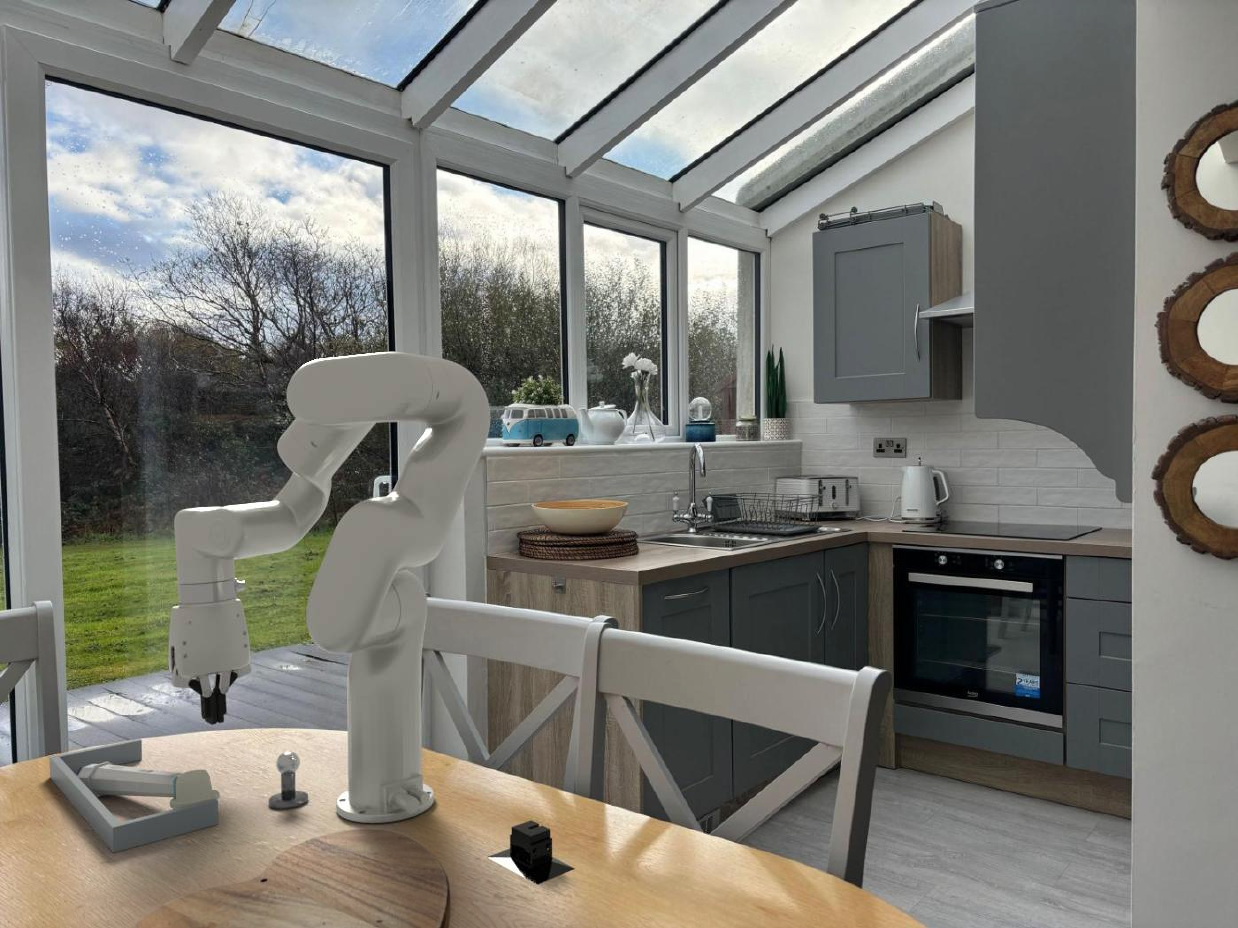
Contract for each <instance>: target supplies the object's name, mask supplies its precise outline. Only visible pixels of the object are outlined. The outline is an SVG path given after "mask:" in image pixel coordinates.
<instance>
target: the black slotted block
mask: <svg viewBox="0 0 1238 928" xmlns="http://www.w3.org/2000/svg"><path fill="white" fill-rule="evenodd" d="M487 858H488V859H489V860H492V861H493V862H495V863H497V864H499V865H500V866H502V867H504V868H506V869H508V870H509V871H512V872H513V873H515V874H517V875H519V876H521V877H522V878H524V879H526V880H528V881H530V882H531V883H533V884H535V885H541V884H543V883H545V882H547V881H550V880H552V879H554V878H557V877H559V876H562V875H564V874H567V873H569V872H571V871H573V870H575V869H576V868H575V867H573V866H571V865H569V864H567V863H565V862H563V861H561V860H559V859H558V858H555V857H553V837H551V829H550V828H548V827H546V826H544V825H540V824H539V823H538V822H536V821H534V820H531V819H530V820H528V821H524V822H522V823H519V824H517V825H514V826H511V833H510V834H509V848H508V849H505V850H502V851H500V852H499V851H498V852H497V853H494V854H492V855H488V856H487Z"/></svg>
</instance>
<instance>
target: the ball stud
mask: <svg viewBox="0 0 1238 928" xmlns="http://www.w3.org/2000/svg"><path fill="white" fill-rule="evenodd" d="M300 765H301V761H300V757H299V755H298V754H297V753H296V752H294V751H290V750H289V751H285V752H282V753H281V754H280V755H279V756H278V757H277V759H276V762H275V766H276V769H277V771H278V772H279V773H280V786H281V789H280V790H281V791H280V792H279V793H276V794H274V795H272V796H270V797H269V798H268V807H269V808H270V809H274V810H292V809H296V808H300V807H301V806H304V805H306V804H307V803H308V801H309V794H308V792H305V791H301V790H296V771H297V770H298V769H299V767H300Z"/></svg>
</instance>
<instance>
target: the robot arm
mask: <svg viewBox="0 0 1238 928" xmlns="http://www.w3.org/2000/svg"><path fill="white" fill-rule="evenodd" d="M286 402H287V406H288V408H289V410H290V413H291V414H292V416H293V417H294V420H293V421H292V422H291V423H290V425H289V426H288V427H287V428H286V430H285V431H284V432H283V433H282V434H281V436H280V438H279V439H278V441H277V453H278V456H279V457H280V459H281V460H282V462H283V463H284V464H285V466H286V467H287V468H288V469H289V470H290V471H292V474H291V477H290V478H289V480H288V481H287V483H286V484H285V485H284V486H283V487H282V489H281V490H280V491H279V492H278V493H277V495H276V496H275V497H274V498H273V499H272V500H271V501H264V502H263V501H262V502H251V503H249V502H248V503H243V504H231V505H224V506H206V507H205V506H204V507H203V506H202V507H192V508H191V507H189V508H185V509H181V510H178V512H176V514H175V516H174V522H173V524H174V525H173V526H174V540H175V541H174V545H175V559H176V560H175V561H176V576H177V577H176V578H177V594H178V596H177V597H178V605H175V606H172V608H171V614H170V621H169V632H168V633H169V634H168V669H169V671H170V673H171V675H172V676H171V679H170V680H171V681H170V686H172V687H174V688H180V689H181V688H182V689H191V690H192V691H194V692H195V693H197V694H198V695H199V697H200V715H201V718H202V719H203V720H204V721H205V722H206V723H207V724H209V725H216V724H217V723H218V724H222V723H224V722H225V716H224V715H227V713H228V711H227V709H228V708H227V693H229V691H230V688H231V687H232V686H233V684H234V682H235V681H236V680H237V679H240V678H242V677H245V676H246V675H249V674H250V673H251V672H252V667H251V665H250V661H251V646H250V645H251V644H250V643H251V642H250V638H249V637H250V635H249V631H248V630H249V629H248V624H247V619H246V616H245V611H244V607H243V603H242V600H241V599H239V598H237V597H238V593H239V592H241V591H245V590H246V582H245V580H242V581H239V580H237V578H236V571H235V560H244V559H250V558H255V557H258V556H266V555H270V554H276V553H277V554H278V553H282V552H285V551H287V550H289V549H291V548H292V547H294V546H295V545H297V544H298V543H299V542H300V541H301V540H302V539H303V538H304V537H305V536H306V535H307V533H309V531H310V530H311V529H312V528H313V527H314V525H315V524H316V523H317V522H318V521H319V519H320V518H321V516H322V515H323V513H324V511H325V510H326V508H327V505H328V503H329V499H330V495H331V490H332V477H333V476H334V475H335V473H337V471H338V470H339V469H340V467H341V466H342V465H343V464H344V463H345V461H346V460H347V458H349V456H350V455H351V454H352V452H353V451H354V450H355V449H356V448H357V447H358V445H359V444H360V443H361V442H362V440H363V439H364V438H365V437H366V436H367V434H368V433H369V432H370V431H371V430H372V428H374V426H375V425H376V423H418V424H419V423H420V424H423V423H424V424H426V429H425V431H424V433H423V434H422V436H421V437H420V438H419V440H418V441H417V442H416V443H415V445H414V446H413V447H412V449H411V450H410V452H409V454H408V455H407V457H406V459H405V461H404V464H403V467H402V469H401V471H400V475H399V476H398V479H397V481H396V484H395V486H394V488H393V489H392V490H391V492H390V493H389V494H388V495H386V496H377V497H371V498H367V499H364V500H362V501H360V502H358V503H356V504H355V505H353V506H352V507H350V508H349V510H348V511H346V513H344V515H343V516H342V517H341V519H340V520H339V522H338V523H337V526H336V527H335V529H334V532H333V534H332V536H331V539H330V542H329V544H328V546H327V548H326V551H325V554H324V557H323V559H322V562H321V564H320V567H319V569H318V572H317V575H316V576H315V580H314V582H313V584H312V586H311V590H310V592H309V596H308V599H307V604H306V610H305V622H306V627H307V630H308V631H307V632H308V634H309V636H310V638H311V640H312V641H313V642H314V643H315V645H316V646H318V647H319V648H320V650H323V651H325V652H327V653H331V654H335V655H346V654H350V657H349V660H348V661H349V662H348V665H347V666H348V668H347V676H346V677H347V679H346V683H347V686H346V687H347V688H346V689H347V690H346V693H347V694H346V696H347V697H346V698H347V699H346V700H347V701H346V703H347V705H346V708H347V714H346V716H347V781H348V782H347V784H348V786H347V790H345V791H344V792H343V793H341V794H340V795H339V797H337V799H336V801H335V810H336V813H337V814H338V815H339V816H340V817H341V818H343V819H345V820H347V821H351V822H356V823H363V824H364V823H365V824H382V823H383V824H384V823H391V822H399V821H402V820H407V819H409V818H413V817H415V816H418V815H421V814H423V813H424V812H426V811H427V810H428V809H429V808H430V807H432V806H433V804H434V802H435V801H434V800H435V792H434V789H433V788H432V787H431V786H429V785H428V784H426V783H424V776H423V755H422V754H423V753H422V752H423V750H422V748H423V747H422V746H423V745H422V742H423V741H422V733H423V731H422V657H423V655H422V653H423V644H424V643H423V642H424V635H425V629H426V623H427V616H428V596H427V592H426V589H425V587H424V585H423V583H422V581H421V580H420V579H419V578H418V576H416V574H414V573H413V572H411V571H410V570H409V569H414V568H417V567H421V566H424V565H426V564H429V563H431V562H432V561H433V560H435V559H436V558H437V557H438V556H439V554H440V553H441V552H442V549H443V548H444V545H445V543H446V541H447V538H448V535H449V534H450V530H451V528H452V526H453V523H454V521H455V519H456V516H457V513H458V512H459V508H460V506H461V504H462V501H463V498H464V496H465V493H466V490H467V487H468V485H469V482H470V480H471V478H472V476H473V473H474V472H475V469H476V466H477V465H478V463H479V460H480V458H481V456H482V453H483V451H484V448H485V446H486V443H487V440H488V438H489V432H490V429H491V428H490V427H491V408H490V404H489V403H490V402H489V399H488V396H487V394H486V391H485V389H484V387H483V386H482V384H481V383H480V381H479V380H478V378H477V377H476V376H475V375H474V374H473V373H472V372H471V371H470V370H468V369H467V368H466V367H464V366H462V365H461V364H459V363H457V362H454V361H452V360H448V359H446V358H441V357H440V358H439V357H437V356H427V355H420V354H415V353H408V352H402V351H401V352H400V351H384V352H381V351H380V352H375V353H374V352H372V353H365V354H355V355H354V354H353V355H347V356H338V357H337V356H336V357H326V358H319V359H318V358H316V359H314V360H311V361H309V362H306V363H305V364H302V366H300V367H299V368H298V369H297V370H296V371H295V372H294V373H293V374H292V377H291V379H290V381H289V383H288V386H287V389H286ZM209 675H210V676H211V675H214V681H213V688H212V685H211V682H210V678H209Z"/></svg>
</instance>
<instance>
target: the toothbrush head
mask: <svg viewBox="0 0 1238 928" xmlns="http://www.w3.org/2000/svg"><path fill="white" fill-rule="evenodd" d="M75 775H76V776H77V777H78V778H79V779H80V780H81V781H82V782H83V783H84V784H85V785H86V787H87V788H88V789H89V790H90V791H91V792H92V793H93V794H94V795H95V796H96V797H97V798H99V797H102V796H120V797H121V796H123V797H124V796H127V797H153V798H171V799H170V800H169V807H170V808H171V810H172V809H176V808H180V807H184V806H188V805H192V804H196V803H200V802H203V801H207V800H211V799H216V800H219V799H220V797H221V795H220V791H218V790H216V789H213V788H212V787H213V786H212V781H211V777H210V775H209V773H208V771H207V770H206V769H195V770H193V769H192V770H189V771H185V772H176V771H175V772H174V771H167V770H158V769H150V768H142V767H141V768H140V767H134V766H125V765H113V764H111V763H110V762H104V763H101V764H89V765H86V766H83V767H80V769H79V770H78V772H77V773H76V774H75Z"/></svg>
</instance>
